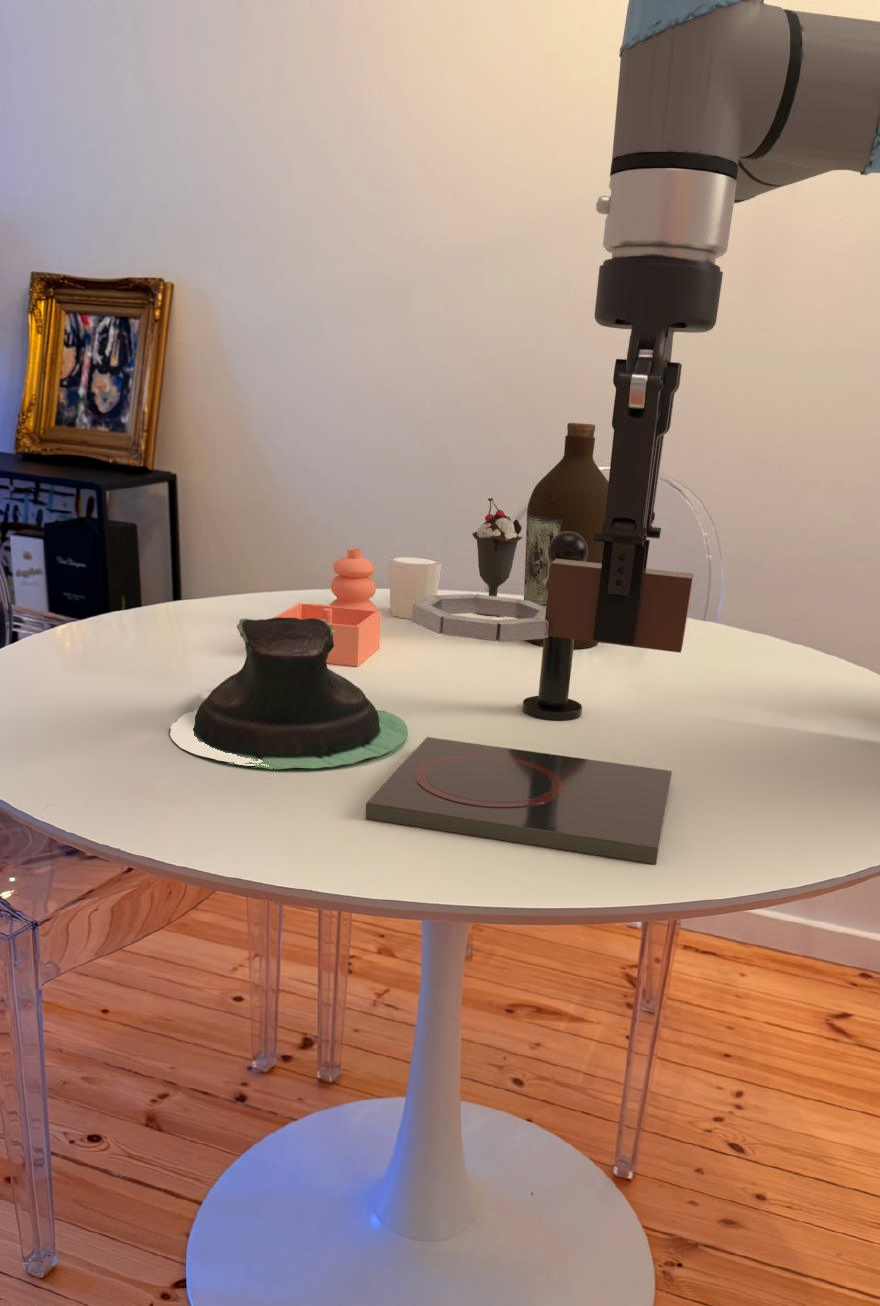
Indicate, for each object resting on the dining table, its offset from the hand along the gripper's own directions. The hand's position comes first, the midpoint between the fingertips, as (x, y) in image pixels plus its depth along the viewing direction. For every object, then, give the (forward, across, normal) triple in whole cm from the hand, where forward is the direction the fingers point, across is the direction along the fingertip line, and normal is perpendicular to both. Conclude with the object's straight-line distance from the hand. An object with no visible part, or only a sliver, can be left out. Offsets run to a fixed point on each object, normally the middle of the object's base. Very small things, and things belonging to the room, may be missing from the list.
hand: (615, 636), depth 75 cm
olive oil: (+13, -55, -11) cm, 58 cm away
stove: (+13, 0, -5) cm, 14 cm away
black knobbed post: (+13, -24, -7) cm, 28 cm away
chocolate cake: (+13, -8, -27) cm, 31 cm away
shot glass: (+13, -60, -31) cm, 69 cm away
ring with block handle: (0, 0, -5) cm, 5 cm away
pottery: (+13, -40, -34) cm, 54 cm away
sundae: (+13, -67, -22) cm, 72 cm away
